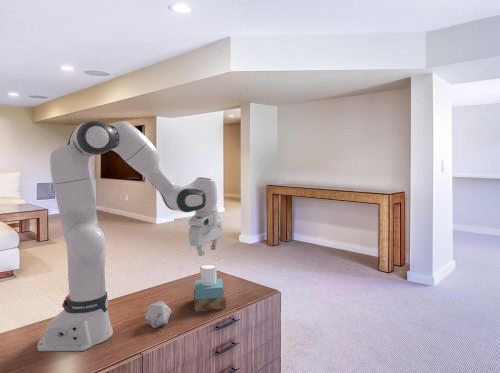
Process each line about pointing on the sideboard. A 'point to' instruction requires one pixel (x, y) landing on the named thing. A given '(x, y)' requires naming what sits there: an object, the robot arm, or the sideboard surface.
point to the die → (158, 314)
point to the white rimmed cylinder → (208, 274)
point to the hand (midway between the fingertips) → (207, 252)
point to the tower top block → (208, 290)
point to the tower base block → (209, 303)
